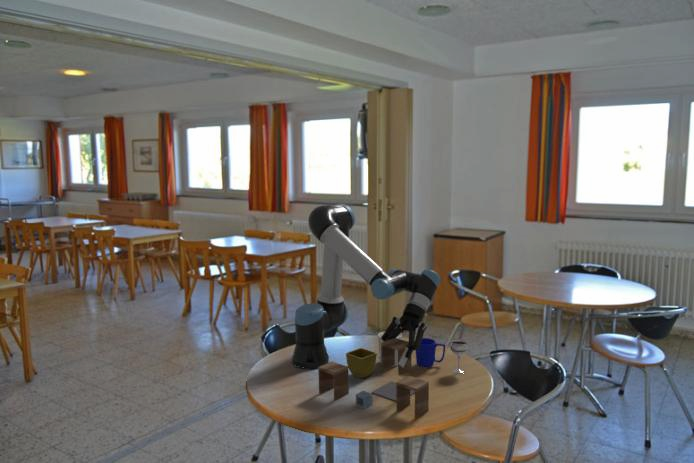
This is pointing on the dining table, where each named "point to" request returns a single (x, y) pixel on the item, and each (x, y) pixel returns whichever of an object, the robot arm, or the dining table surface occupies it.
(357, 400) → the cube
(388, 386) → the mat
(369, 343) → the dining table surface
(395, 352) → the candle holder
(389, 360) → the cover middle
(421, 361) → the mug
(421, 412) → the cover right
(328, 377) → the cover left
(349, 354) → the flower pot
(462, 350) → the wineglass
